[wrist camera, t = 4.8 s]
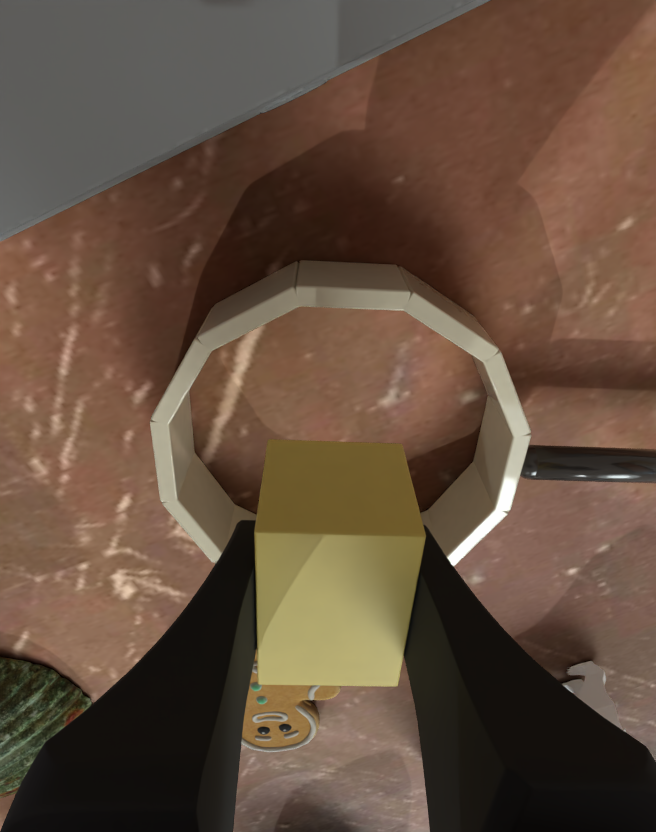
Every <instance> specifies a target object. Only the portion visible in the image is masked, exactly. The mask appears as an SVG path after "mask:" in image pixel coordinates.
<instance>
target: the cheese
mask: <svg viewBox="0 0 656 832" xmlns="http://www.w3.org/2000/svg"><path fill="white" fill-rule="evenodd" d="M425 539H426V534H425V530H424V526H423V522H422V518H421V515H420V511H419V507H418V503H417V499H416V495H415V492H414V488H413V484H412V480H411V476H410V472H409V468H408V465H407V461H406V457H405V453H404V449H403V445H402V444H392V443H362V442H332V441H302V440H272V439H270V440H268V442H267V449H266V455H265V462H264V469H263V476H262V482H261V489H260V496H259V503H258V509H257V516H256V523H255V530H254V543H255V588H256V634H257V679H258V684H259V685H324V686H398V682H399V677H400V672H401V667H402V661H403V656H404V651H405V645H406V640H407V635H408V629H409V624H410V619H411V613H412V608H413V603H414V597H415V592H416V587H417V581H418V576H419V571H420V565H421V560H422V555H423V549H424V544H425Z"/></svg>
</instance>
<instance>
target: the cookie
mask: <svg viewBox="0 0 656 832" xmlns="http://www.w3.org/2000/svg"><path fill="white" fill-rule="evenodd" d="M340 689H341V686H324V685H259V684H258V679H257V649H256V654H255V659H254V665H253V670H252V675H251V680H250V686H249V691H248V696H247V701H246V708H245V715H244V722H243V732H242V742H241V744H242V745H244V746H246V747H248V748H250V749H252V750H258V751H265V752H277V751H286V750H292V749H296V748H299V747H301V746H303V745H305V744H307V743H309V741H310V740H311V739H312V738H313V737H314V736H315V735H316V733H317V731H318V727H319V713H318V710H317V708H316V706H315V705H314V704H313V703H311V702H310V701H309V700H327V699H331V698H333V697H335V696H336V695H337V694H338V693H339V692H340Z"/></svg>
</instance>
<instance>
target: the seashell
mask: <svg viewBox="0 0 656 832" xmlns="http://www.w3.org/2000/svg"><path fill="white" fill-rule="evenodd" d="M91 704H92V702H91V700H90V698H88V697H86V696H85V695H83V694H82V690H81V689H79V688H77V687H76V686H74V685H73V684H72V683H71V682H70V681H69V680H67V679H65V678H61V677H60V676H59V674H58V673H56V672H55V671H54V670H52V669H49V668H46V667H44V666H42V665H41V664H40V665H34V664H32V663H30V662H26V661H22V660H14V659H9V658H4V657H0V798H2V797H5V796H8V795H11V794H14V793H17V791H18V789H19V787H20V785H21V782H22V780H23V779H24V777H25V775H26V773H27V772H28V770H29V768H30V766H31V765H32V763H33V761H34V759H35V758H36V756H37V754H38V753H39V751H40V749H41V748H42V746H43V745H44V743H45V742H46V741H47V740H48V739H50V738H51V737H52V736H54V735H55V734H56V733H57V732H59V731H60V730H61V729H63V728H64V727H65V726H66V725H68V724H69V723H70V722H71V721H73V720H74V719H75V718H76V717H78V716H79V715H80V714H81V713H83V712H84V711H85V710H86V709H88V708H89V707H90V706H91Z"/></svg>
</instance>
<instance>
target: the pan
mask: <svg viewBox="0 0 656 832" xmlns="http://www.w3.org/2000/svg"><path fill="white" fill-rule="evenodd" d="M300 306H305V307H328V308H351V309H374V310H397V311H405V312H406V313H408V314H409V315H411V316H412V317H414V318H416V319H417V320H419V321H420V322H422V323H423V324H425V325H426V326H428V327H429V328H431V329H432V330H434V331H436V332H437V333H439V334H440V335H442V336H443V337H445V338H446V339H448V340H449V341H451V342H452V343H454V344H456V345H457V346H459V347H460V348H462V349H463V350H465V351H466V352H468V353H469V354H471V355H472V358H473V360H474V363H475V365H476V367H477V370H478V372H479V375H480V377H481V380H482V382H483V385H484V387H485V389H486V392H487V394H488V398H487V402H486V407H485V411H484V416H483V420H482V425H481V429H480V434H479V438H478V443H477V447H476V452H475V456H474V461H473V462H472V463H471V464H470V465H469V466H468V467H467V468H466V469H465V471H464V472H463V473H462V474H461V475H460V476H459V477H458V478H457V479H456V480H455V481H454V482H453V483H452V484H451V486H450V487H449V488H448V489H447V490H446V491H445V492H444V493H443V494H442V495H441V496H440V497H439V498H438V499H437V501H436V502H435V503H434V504H433V505H432V506H431V507H430V508H429V509H428V510H426V511H424V512H421V513H420V515H421V518H422V522H423V525H426V526H427V528H428V529H429V530H430V532H431V534H432V535H433V537H434V538H435V540H436V541H437V543H438V545H439V546H440V548H441V549H442V551H443V552H444V554H445V555H446V557H447V558H448V559H449V561H450V562H451V564H452V565H453V567H454V566H455V565H456V564H457V563H458V562H459V561H460V560H461V559H462V558H463V557H464V556H465V555H466V554H467V553H468V552H469V551H470V550H471V549H472V548H474V547H475V546H476V545H477V544H478V543H479V542H480V541H481V540H482V539H483V538H484V537H485V536H486V535H487V534H488V533H489V532H490V531H491V530H492V529H493V528H494V527H495V526H496V525H497V524H498V523H499V522H500V521H501V520H502V519H503V518H504V517H505V516H507V515H508V511H510V510H511V506H512V503H513V499H514V495H515V492H516V488H517V485H518V481H519V478H520V476H521V477H523V478H525V479H532V480H564V481H596V482H627V483H656V449H631V448H602V447H572V446H543V445H529V442H530V438H531V433H530V432H531V429H530V426H529V424H528V421H527V418H526V416H525V413H524V410H523V408H522V405H521V403H520V400H519V397H518V395H517V392H516V389H515V387H514V384H513V381H512V379H511V376H510V373H509V371H508V368H507V365H506V363H505V360H504V358H503V355H502V352H501V351H500V350H499V348H498V347H497V345H496V344H495V343H494V342H493V340H492V339H491V338H490V336H489V335H488V334H487V332H486V331H485V330H484V329H483V327H482V326H481V325H480V323H479V322H478V321H477V319H476V318H475V317H474V316H473V315H472V314H471V313H469V312H468V311H466V310H465V309H463V308H462V307H460V306H459V305H457V304H456V303H454V302H453V301H451V300H450V299H449V298H447V297H446V296H444V295H443V294H441V293H440V292H438V291H437V290H435V289H434V288H432V287H431V286H429V285H428V284H426V283H425V282H423V281H422V280H421V279H419V278H418V277H416V276H415V275H413V274H412V273H410V272H409V271H407V270H406V269H404V268H403V267H401V266H399V267H398V266H397V265H391V264H370V263H349V262H327V261H306V260H301V261H300V262H299V263H298V262H294V263H292V264H290V265H288V266H286V267H284V268H282V269H280V270H279V271H277V272H275V273H273V274H271V275H269V276H267V277H265V278H264V279H262V280H260V281H258V282H256V283H254V284H252V285H250V286H248V287H247V288H245V289H243V290H241V291H239V292H237V293H235V294H233V295H232V296H230V297H228V298H226V299H224V300H222V301H220V302H218V303H216V304H215V305H214V307H212V308H211V309H210V311H209V313H208V315H207V317H206V318H205V320H204V322H203V324H202V326H201V327H200V329H199V331H198V333H197V335H196V336H195V338H194V340H193V342H192V344H191V345H190V347H189V349H188V351H187V353H186V354H185V356H184V358H183V360H182V362H181V363H180V365H179V367H178V369H177V371H176V372H175V374H174V376H173V378H172V380H171V381H170V383H169V385H168V387H167V389H166V391H165V392H164V394H163V396H162V398H161V400H160V401H159V403H158V405H157V407H156V409H155V411H154V412H153V414H152V416H151V420H150V427H151V435H152V442H153V450H154V457H155V465H156V472H157V480H158V487H159V495H160V501H162V504H163V505H164V507H165V508H166V509H167V510H168V511H169V512H170V514H171V515H172V516H173V517H174V518H175V520H176V521H177V522H178V523H179V524H180V525H181V527H182V528H183V529H184V530H185V531H186V532H187V534H188V535H189V536H190V537H191V538H192V539H193V541H194V542H195V543H196V544H197V545H198V546H199V548H200V549H201V550H202V551H203V552H204V553H205V555H206V556H207V557H208V558H209V559H210V560H211V562H215V564H216V563H217V561H218V560H219V558H220V556H221V554H222V553H223V551H224V549H225V547H226V545H227V544H228V542H229V540H230V538H231V536H232V534H233V532H234V529H235V527H236V525H237V523H238V522H239V521H241V520H256V516H257V515H256V514H254V513H252V512H250V511H248V510H246V509H243V508H241V507H239V506H237V505H235V504H234V503H233V502H232V500H231V499H230V498H229V496H228V495H227V494H226V492H225V491H224V490H223V488H222V487H221V486H220V485H219V483H218V482H217V481H216V479H215V478H214V477H213V475H212V474H211V473H210V472H209V470H208V469H207V468H206V466H205V465H204V464H203V462H202V461H201V460H200V459H199V457H198V456H197V455H196V453H195V450H194V439H193V428H192V416H191V405H190V394H189V390H190V388H191V386H192V384H193V383H194V381H195V379H196V378H197V376H198V374H199V372H200V371H201V369H202V367H203V365H204V364H205V362H206V360H207V359H208V357H209V355H210V353H211V352H212V351H213V350H215V349H217V348H219V347H221V346H223V345H225V344H227V343H229V342H231V341H233V340H235V339H237V338H239V337H241V336H243V335H245V334H247V333H248V332H250V331H252V330H254V329H256V328H258V327H260V326H262V325H264V324H266V323H268V322H270V321H272V320H274V319H276V318H278V317H280V316H282V315H284V314H286V313H288V312H290V311H292V310H294V309H296V308H298V307H300Z"/></svg>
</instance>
